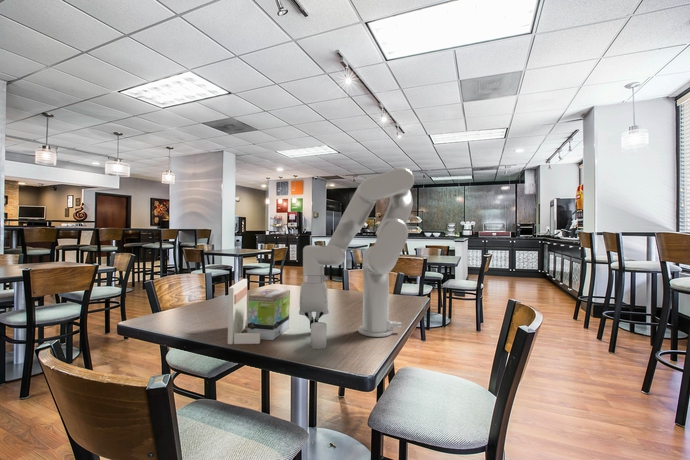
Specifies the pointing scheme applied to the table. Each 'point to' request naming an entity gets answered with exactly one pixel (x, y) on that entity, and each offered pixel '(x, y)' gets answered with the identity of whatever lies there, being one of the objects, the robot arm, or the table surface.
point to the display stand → (239, 315)
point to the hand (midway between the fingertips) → (314, 330)
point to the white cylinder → (318, 335)
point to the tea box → (269, 313)
